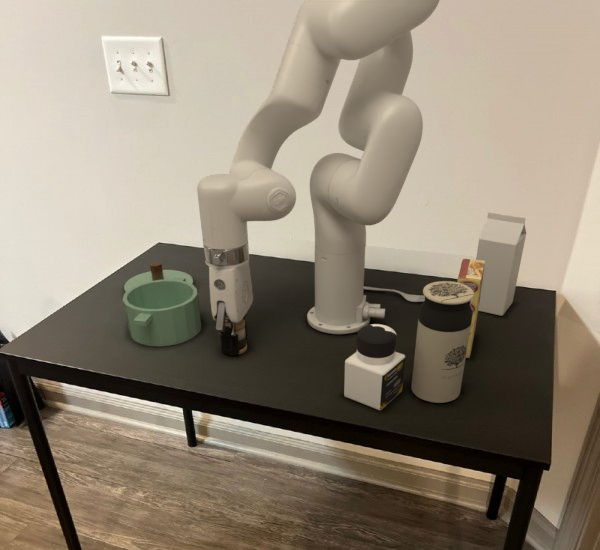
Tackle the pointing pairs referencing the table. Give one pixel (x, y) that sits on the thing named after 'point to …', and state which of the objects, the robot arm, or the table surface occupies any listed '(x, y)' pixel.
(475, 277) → the candy box
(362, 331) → the medicine bottle
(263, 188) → the robot arm
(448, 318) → the travel mug
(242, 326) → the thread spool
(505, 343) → the table surface
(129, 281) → the pot lid
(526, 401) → the table surface
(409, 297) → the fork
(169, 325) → the pot
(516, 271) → the milk carton
